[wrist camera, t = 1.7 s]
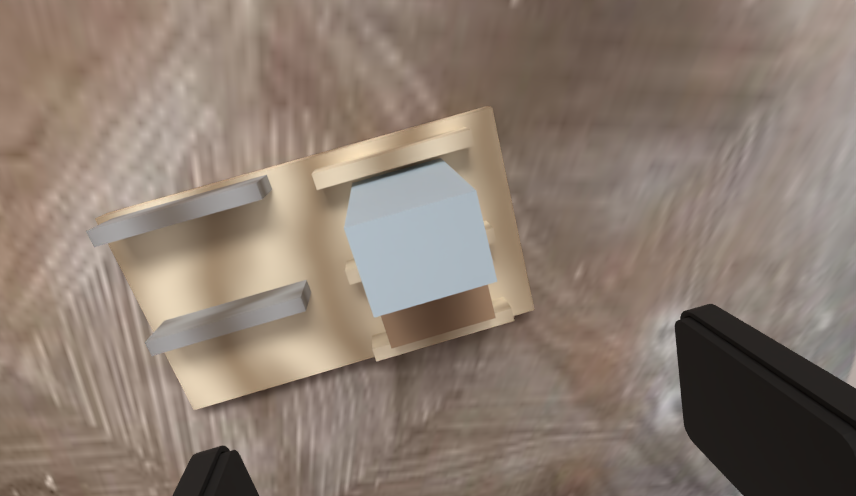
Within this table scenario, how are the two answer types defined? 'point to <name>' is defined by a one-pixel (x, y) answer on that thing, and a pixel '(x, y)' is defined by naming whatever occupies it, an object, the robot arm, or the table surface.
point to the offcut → (438, 316)
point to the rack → (294, 261)
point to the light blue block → (417, 236)
